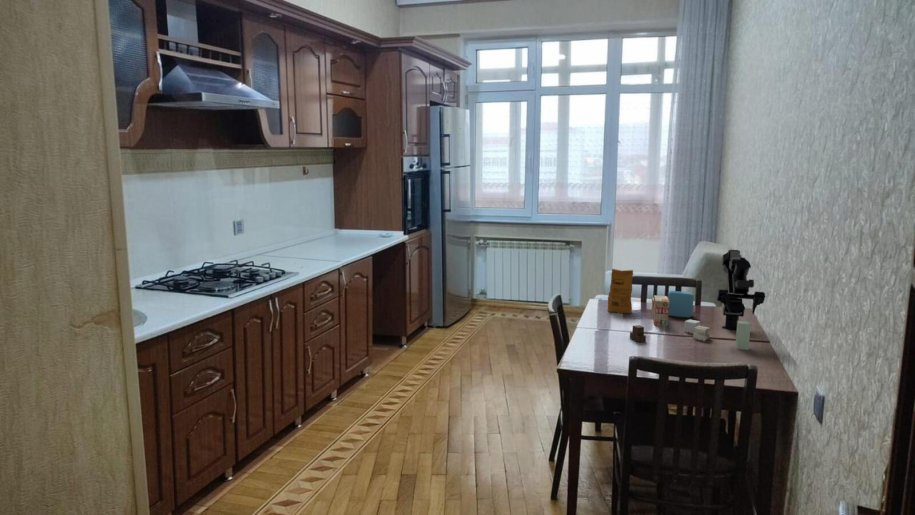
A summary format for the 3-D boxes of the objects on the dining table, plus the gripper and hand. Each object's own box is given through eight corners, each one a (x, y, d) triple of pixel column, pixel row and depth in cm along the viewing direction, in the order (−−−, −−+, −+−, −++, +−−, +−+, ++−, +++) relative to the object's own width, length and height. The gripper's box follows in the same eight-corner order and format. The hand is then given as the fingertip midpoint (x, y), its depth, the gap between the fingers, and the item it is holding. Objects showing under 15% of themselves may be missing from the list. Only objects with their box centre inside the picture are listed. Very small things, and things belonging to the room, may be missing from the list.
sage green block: (735, 345, 272) (737, 320, 270) (746, 346, 271) (748, 321, 269) (736, 348, 268) (738, 323, 266) (748, 349, 267) (750, 324, 265)
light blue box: (692, 316, 324) (694, 292, 322) (691, 318, 319) (693, 294, 318) (667, 313, 328) (669, 290, 326) (666, 315, 324) (668, 292, 322)
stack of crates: (665, 344, 275) (666, 329, 274) (634, 347, 271) (635, 331, 270) (645, 335, 289) (646, 320, 288) (615, 337, 285) (616, 322, 284)
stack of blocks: (650, 315, 325) (652, 291, 323) (663, 316, 323) (665, 292, 322) (654, 325, 304) (655, 300, 302) (668, 326, 303) (669, 301, 301)
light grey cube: (689, 329, 297) (689, 319, 297) (699, 332, 294) (700, 321, 293) (684, 331, 294) (684, 321, 293) (694, 334, 290) (695, 323, 290)
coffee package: (608, 308, 339) (610, 267, 336) (633, 310, 334) (635, 268, 331) (605, 312, 330) (607, 270, 327) (630, 314, 325) (632, 271, 322)
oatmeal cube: (698, 336, 286) (698, 325, 285) (709, 338, 283) (710, 327, 282) (693, 338, 283) (693, 327, 282) (704, 341, 279) (705, 329, 278)
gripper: (719, 271, 280) (720, 301, 271) (766, 273, 275) (769, 304, 266) (716, 285, 288) (717, 315, 279) (761, 288, 283) (764, 318, 274)
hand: (741, 312), depth 274 cm, fingers open, 9 cm apart
